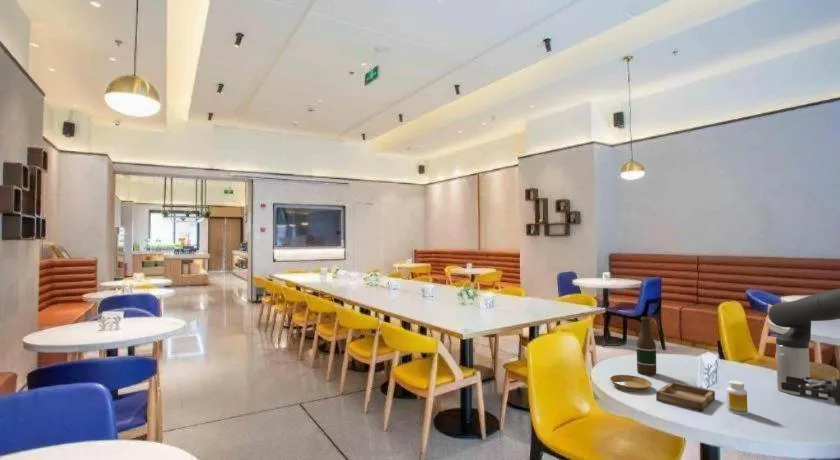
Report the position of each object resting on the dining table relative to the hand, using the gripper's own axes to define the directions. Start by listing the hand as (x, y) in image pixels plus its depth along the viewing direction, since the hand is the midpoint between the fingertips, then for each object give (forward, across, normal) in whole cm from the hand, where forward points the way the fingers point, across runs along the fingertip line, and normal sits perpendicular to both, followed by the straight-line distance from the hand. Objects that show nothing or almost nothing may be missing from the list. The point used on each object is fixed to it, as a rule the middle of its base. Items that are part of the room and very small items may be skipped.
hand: (783, 382), depth 133 cm
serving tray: (+27, +1, +12) cm, 30 cm away
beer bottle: (+48, -21, +12) cm, 54 cm away
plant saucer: (+46, 0, +13) cm, 48 cm away
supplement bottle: (+12, 0, +13) cm, 18 cm away
